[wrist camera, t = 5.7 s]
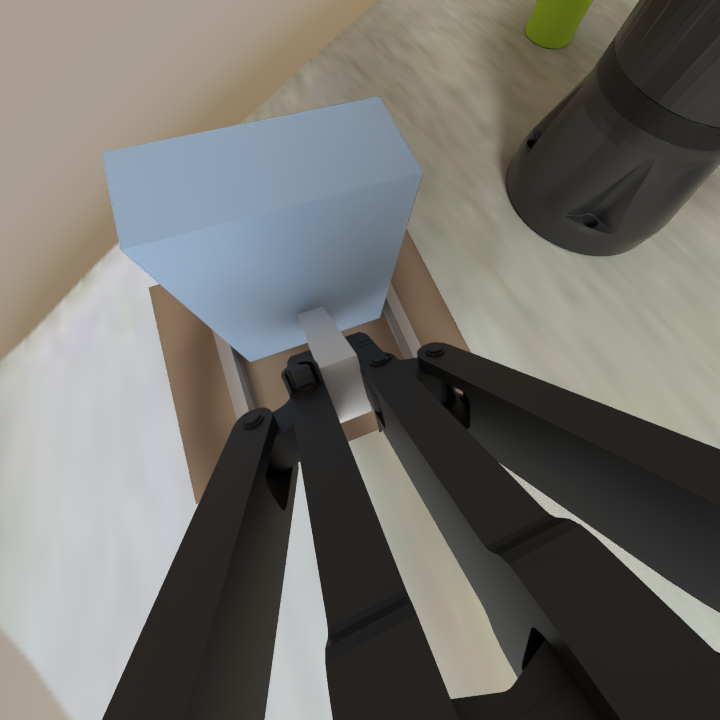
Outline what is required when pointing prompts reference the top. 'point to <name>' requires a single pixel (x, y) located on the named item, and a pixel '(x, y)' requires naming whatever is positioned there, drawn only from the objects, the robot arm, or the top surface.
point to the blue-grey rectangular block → (270, 219)
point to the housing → (280, 361)
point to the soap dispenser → (555, 21)
